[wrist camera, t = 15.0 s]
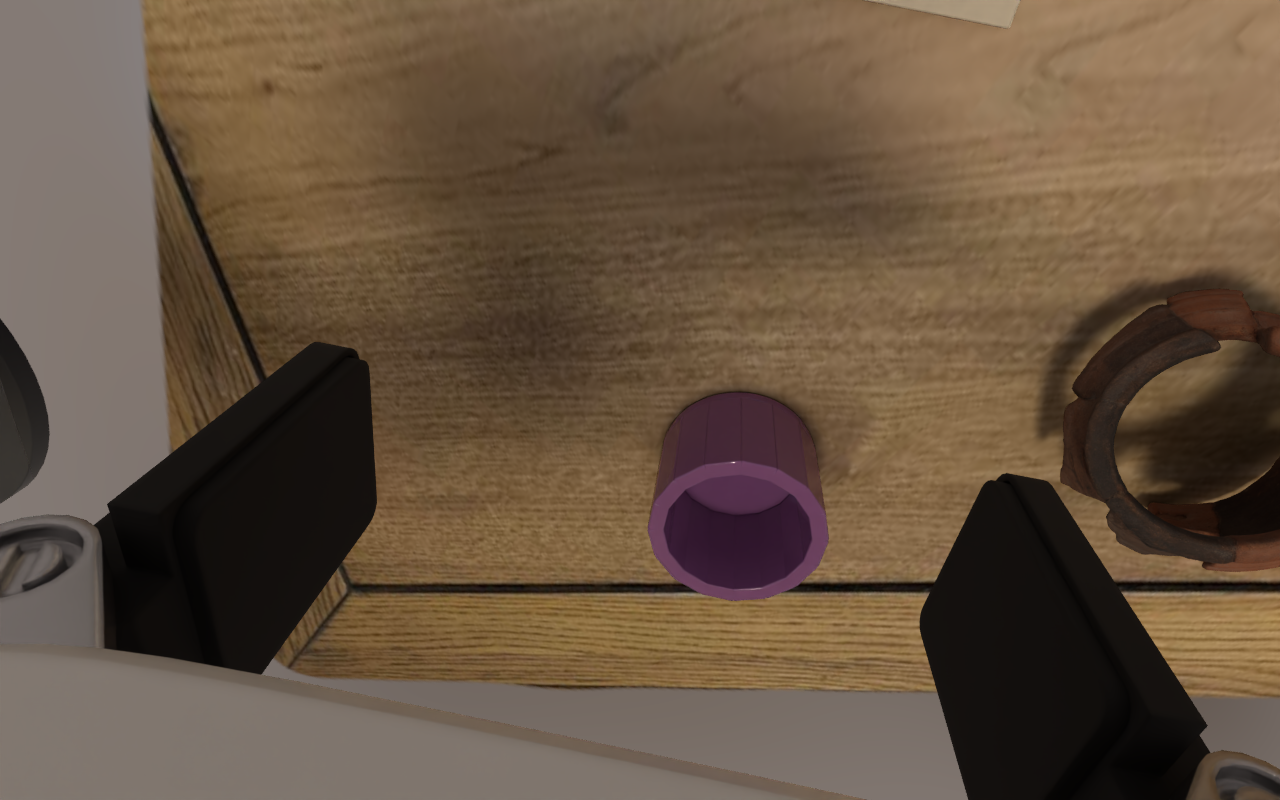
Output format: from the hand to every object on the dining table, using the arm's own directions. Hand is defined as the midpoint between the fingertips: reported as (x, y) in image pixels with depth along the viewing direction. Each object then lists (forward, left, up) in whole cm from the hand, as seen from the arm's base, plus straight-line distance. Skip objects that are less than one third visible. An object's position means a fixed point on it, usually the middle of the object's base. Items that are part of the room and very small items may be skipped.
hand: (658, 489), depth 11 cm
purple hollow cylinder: (+4, -10, -16) cm, 19 cm away
